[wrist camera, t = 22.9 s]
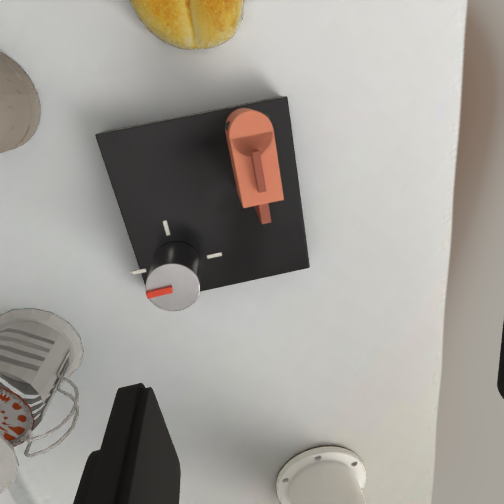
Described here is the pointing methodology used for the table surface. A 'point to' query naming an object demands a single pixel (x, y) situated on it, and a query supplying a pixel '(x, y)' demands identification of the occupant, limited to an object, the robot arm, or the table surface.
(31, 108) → the thermos bottle
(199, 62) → the table surface
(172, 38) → the bread roll
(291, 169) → the hot plate
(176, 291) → the knob
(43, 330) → the french press
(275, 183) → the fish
